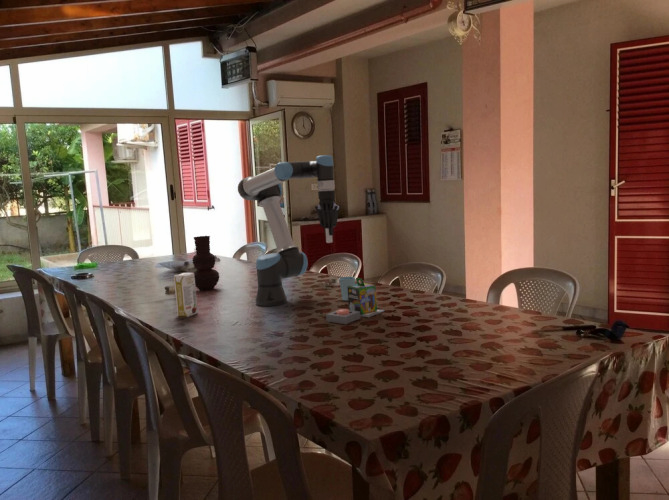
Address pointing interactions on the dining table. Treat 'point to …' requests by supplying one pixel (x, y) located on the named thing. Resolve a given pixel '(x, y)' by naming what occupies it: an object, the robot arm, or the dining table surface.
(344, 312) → the button
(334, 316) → the button housing
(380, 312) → the sketch board
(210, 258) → the vase
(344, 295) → the cup
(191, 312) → the juice carton
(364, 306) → the chalk box
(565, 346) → the dining table surface
